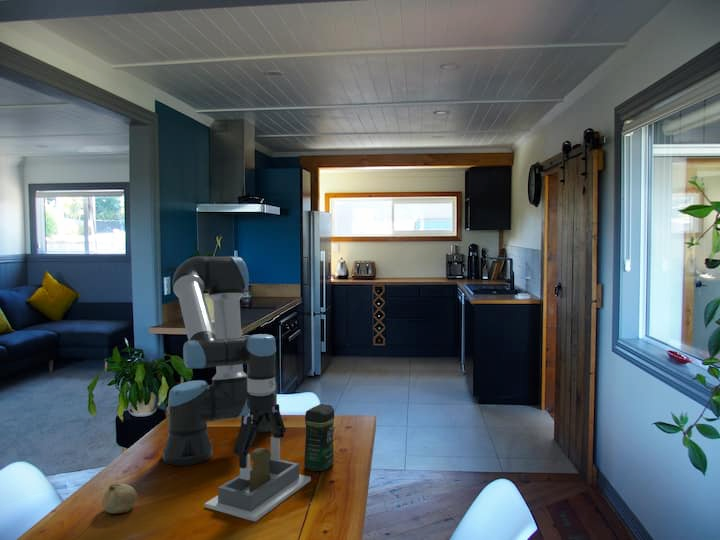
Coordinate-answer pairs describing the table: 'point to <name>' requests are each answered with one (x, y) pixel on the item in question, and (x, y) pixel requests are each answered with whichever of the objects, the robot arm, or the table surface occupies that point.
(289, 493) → the slot well
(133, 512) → the table surface
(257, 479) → the cork
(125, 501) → the onion
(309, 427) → the coffee jar
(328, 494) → the table surface
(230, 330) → the robot arm
